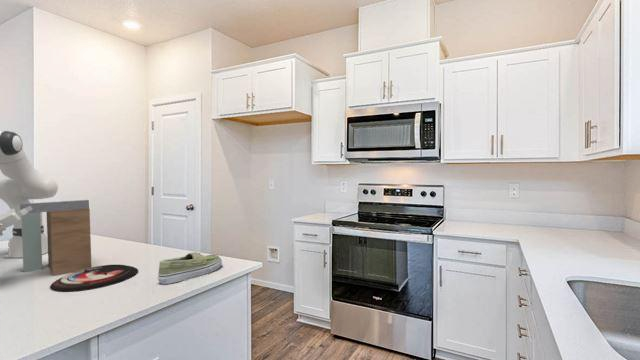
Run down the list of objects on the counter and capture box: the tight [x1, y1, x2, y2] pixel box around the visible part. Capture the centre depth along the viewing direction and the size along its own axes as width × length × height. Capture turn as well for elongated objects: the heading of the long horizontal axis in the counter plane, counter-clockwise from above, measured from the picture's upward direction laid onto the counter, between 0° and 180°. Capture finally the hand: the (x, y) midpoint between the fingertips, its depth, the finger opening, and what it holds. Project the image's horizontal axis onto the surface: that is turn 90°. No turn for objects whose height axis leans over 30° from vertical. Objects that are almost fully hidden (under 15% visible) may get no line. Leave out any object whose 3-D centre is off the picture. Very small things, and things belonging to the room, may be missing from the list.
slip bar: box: [20, 199, 90, 213], centre depth 137 cm, size 4×22×4 cm, turn 133°
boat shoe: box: [157, 251, 223, 285], centre depth 135 cm, size 10×29×9 cm, turn 151°
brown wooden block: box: [45, 208, 92, 276], centre depth 147 cm, size 22×13×26 cm, turn 43°
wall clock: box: [50, 264, 139, 293], centre depth 132 cm, size 27×5×30 cm
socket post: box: [21, 212, 43, 273], centre depth 144 cm, size 8×6×26 cm
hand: (31, 206), depth 132 cm, fingers closed on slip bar, 4 cm apart
